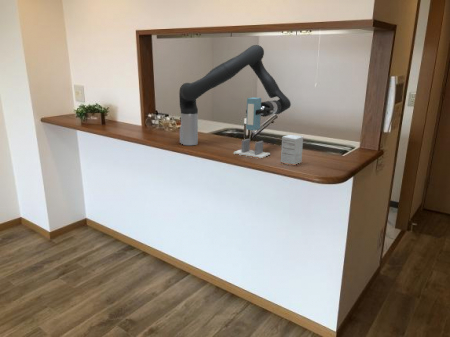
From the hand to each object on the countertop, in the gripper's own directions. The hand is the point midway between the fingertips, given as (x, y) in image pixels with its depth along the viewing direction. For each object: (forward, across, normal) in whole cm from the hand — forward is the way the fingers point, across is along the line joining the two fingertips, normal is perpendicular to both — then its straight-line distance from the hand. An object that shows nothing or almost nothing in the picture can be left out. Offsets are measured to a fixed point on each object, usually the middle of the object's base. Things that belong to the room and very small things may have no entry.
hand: (251, 112), depth 178 cm
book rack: (-2, 0, +22) cm, 22 cm away
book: (-2, 0, +8) cm, 9 cm away
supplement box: (0, +22, +22) cm, 31 cm away
